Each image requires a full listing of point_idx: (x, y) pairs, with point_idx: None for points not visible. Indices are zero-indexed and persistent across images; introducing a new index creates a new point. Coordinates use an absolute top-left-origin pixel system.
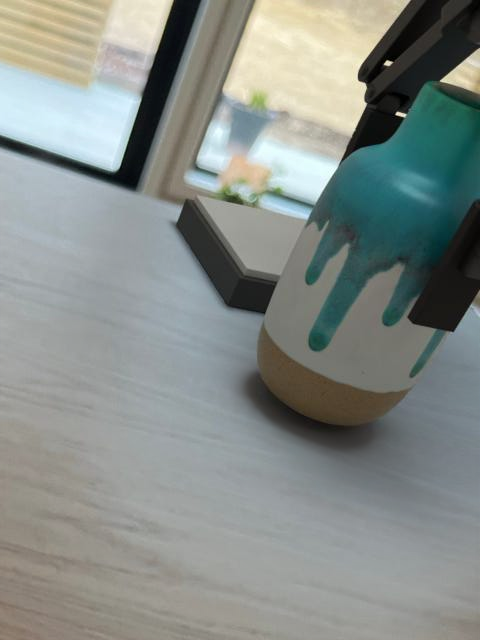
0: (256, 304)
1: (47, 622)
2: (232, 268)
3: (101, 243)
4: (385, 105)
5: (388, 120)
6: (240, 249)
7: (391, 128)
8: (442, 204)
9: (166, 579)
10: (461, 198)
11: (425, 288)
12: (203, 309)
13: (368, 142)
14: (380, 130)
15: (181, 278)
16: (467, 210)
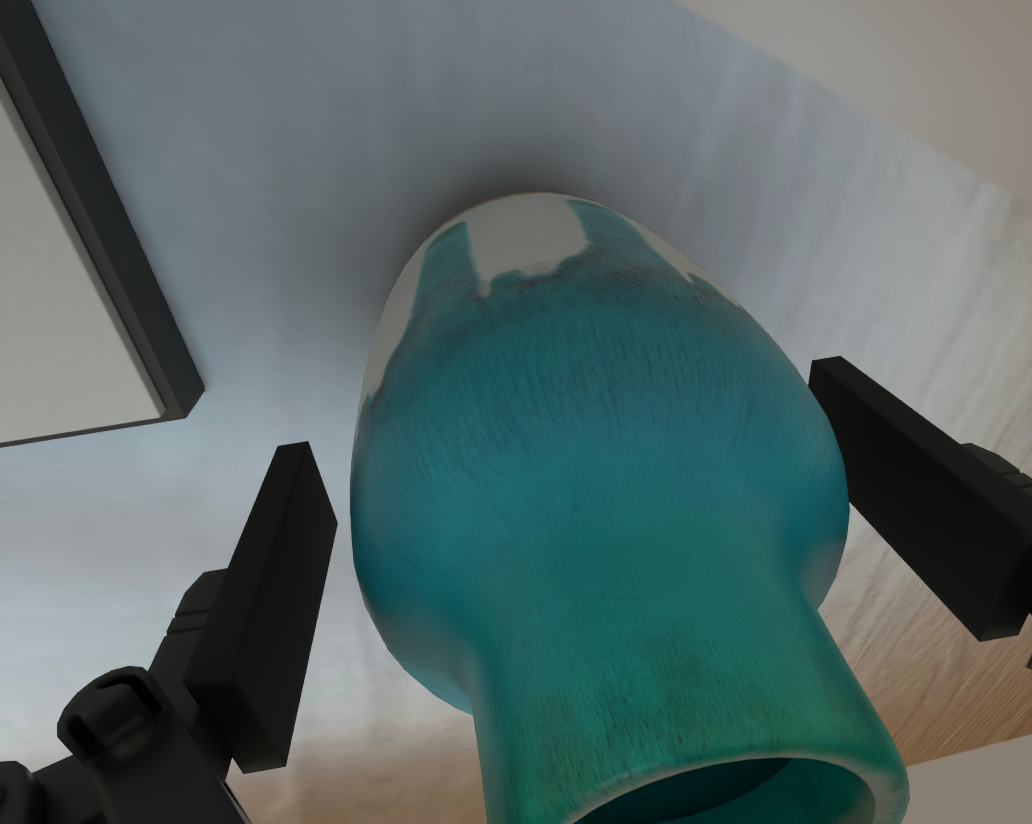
0: (178, 346)
1: (934, 597)
2: (142, 424)
3: (126, 566)
4: (214, 757)
5: (266, 710)
6: (57, 417)
7: (260, 674)
8: (818, 607)
9: None
10: (817, 583)
11: None
12: (258, 433)
13: (291, 659)
14: (275, 683)
15: (150, 457)
16: (840, 553)
